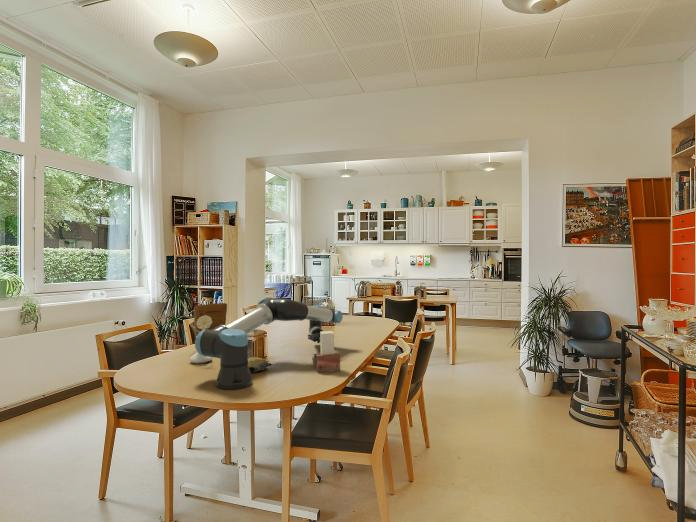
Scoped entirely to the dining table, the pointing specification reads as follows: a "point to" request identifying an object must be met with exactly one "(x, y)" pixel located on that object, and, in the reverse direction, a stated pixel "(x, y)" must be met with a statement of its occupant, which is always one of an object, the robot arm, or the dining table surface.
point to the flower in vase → (202, 324)
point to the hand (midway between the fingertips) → (322, 342)
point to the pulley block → (257, 364)
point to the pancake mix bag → (211, 314)
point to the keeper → (326, 342)
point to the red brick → (327, 362)
